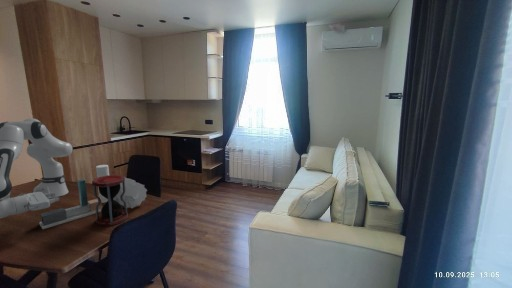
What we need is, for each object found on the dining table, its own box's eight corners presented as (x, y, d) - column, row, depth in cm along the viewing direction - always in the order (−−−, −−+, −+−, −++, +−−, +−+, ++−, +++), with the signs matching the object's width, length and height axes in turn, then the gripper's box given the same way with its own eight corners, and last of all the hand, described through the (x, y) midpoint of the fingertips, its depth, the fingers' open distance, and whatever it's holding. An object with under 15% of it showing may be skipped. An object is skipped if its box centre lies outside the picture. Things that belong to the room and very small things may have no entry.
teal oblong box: (61, 218, 136) (57, 185, 132) (60, 216, 138) (56, 184, 134) (94, 209, 148) (91, 179, 144) (92, 207, 150) (89, 177, 147)
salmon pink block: (91, 211, 146) (90, 203, 145) (88, 209, 149) (87, 201, 148) (102, 208, 150) (101, 200, 150) (99, 206, 154) (98, 198, 153)
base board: (42, 229, 128) (42, 227, 128) (39, 224, 133) (39, 222, 132) (104, 210, 151) (104, 208, 150) (100, 206, 156) (100, 205, 155)
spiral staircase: (126, 203, 172) (144, 211, 157) (100, 200, 158) (117, 208, 143) (134, 178, 175) (153, 184, 161) (110, 173, 162) (128, 179, 147)
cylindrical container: (105, 203, 161) (102, 167, 157) (96, 202, 163) (93, 167, 158) (113, 199, 168) (110, 165, 164) (105, 198, 169) (102, 164, 165)
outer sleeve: (44, 225, 129) (42, 216, 128) (42, 222, 132) (40, 213, 131) (66, 219, 137) (65, 210, 136) (64, 216, 140) (63, 207, 139)
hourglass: (98, 216, 143) (93, 176, 139) (128, 211, 151) (125, 173, 146) (94, 228, 129) (89, 185, 125) (127, 222, 137) (124, 181, 132)
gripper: (25, 204, 116) (60, 195, 127) (19, 193, 129) (51, 186, 140) (27, 216, 118) (62, 206, 128) (20, 204, 130) (53, 196, 141)
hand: (56, 196), depth 134 cm, fingers open, 8 cm apart
